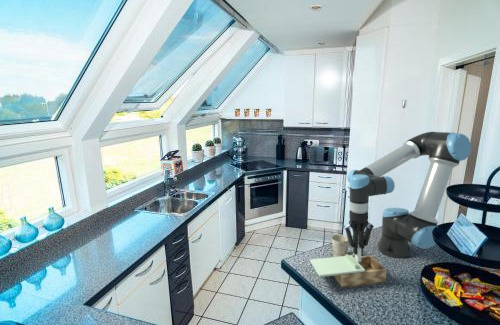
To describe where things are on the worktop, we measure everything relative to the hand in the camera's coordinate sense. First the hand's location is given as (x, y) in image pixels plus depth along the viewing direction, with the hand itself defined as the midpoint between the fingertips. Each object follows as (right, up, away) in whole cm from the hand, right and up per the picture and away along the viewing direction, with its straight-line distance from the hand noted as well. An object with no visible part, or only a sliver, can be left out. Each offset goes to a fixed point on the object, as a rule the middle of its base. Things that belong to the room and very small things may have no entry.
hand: (357, 260), depth 118 cm
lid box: (0, -8, +1) cm, 8 cm away
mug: (0, -5, +18) cm, 19 cm away
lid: (-10, -2, -1) cm, 10 cm away
